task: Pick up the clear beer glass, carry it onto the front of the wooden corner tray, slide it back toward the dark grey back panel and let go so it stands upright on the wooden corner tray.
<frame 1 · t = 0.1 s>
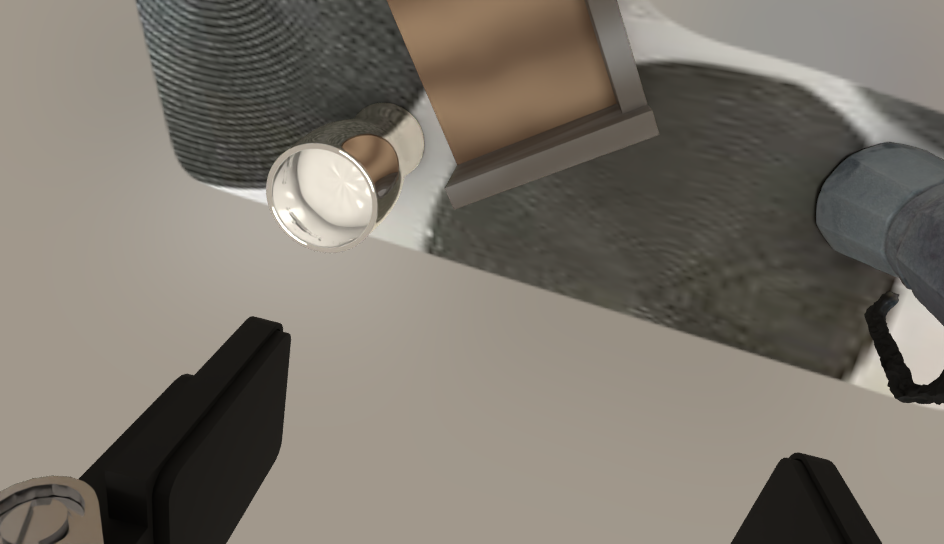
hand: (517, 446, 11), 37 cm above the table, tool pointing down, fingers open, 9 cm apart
wooden corner tray: (514, 42, 43), on the table
beer glass: (387, 140, 47), on the table
moka pot: (873, 204, 45), on the table
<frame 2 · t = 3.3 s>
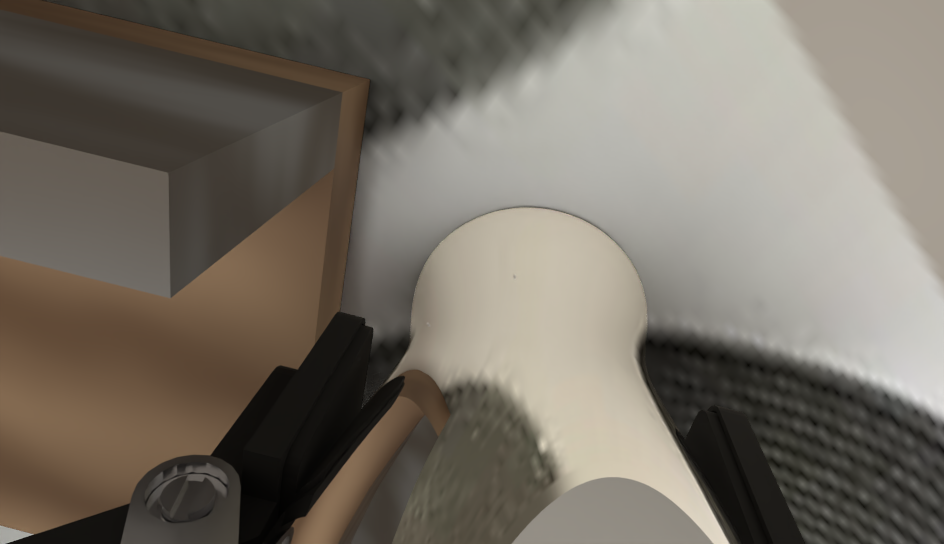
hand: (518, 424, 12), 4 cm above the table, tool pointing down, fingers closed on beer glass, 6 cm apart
wooden corner tray: (101, 302, 17), on the table
beer glass: (527, 310, 16), on the table, touching gripper
when the fingers open (7 cm above the table, at t = 11.5 s): beer glass stays where it is, resting on wooden corner tray.
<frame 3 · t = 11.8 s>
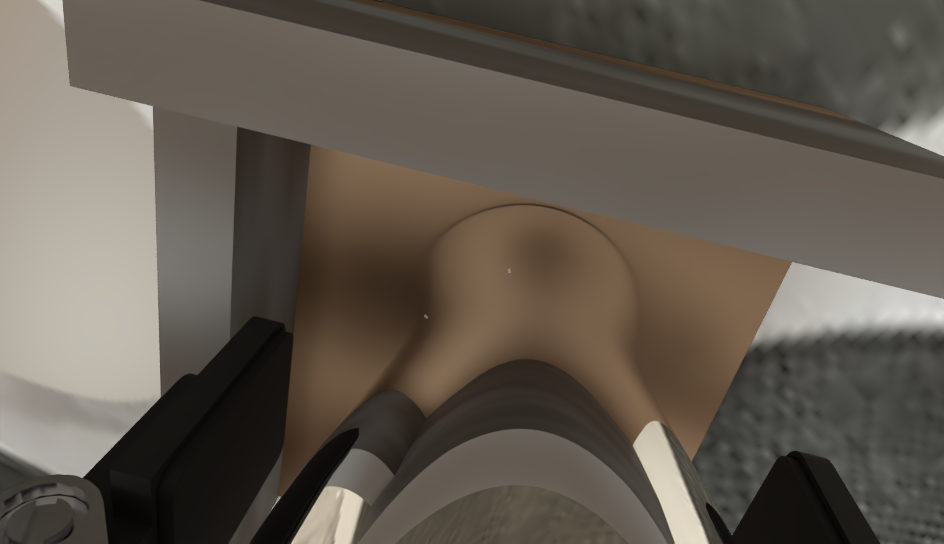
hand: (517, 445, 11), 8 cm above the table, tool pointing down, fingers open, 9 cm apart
wooden corner tray: (487, 308, 19), on the table
beer glass: (523, 305, 16), point 2 cm above the table, touching wooden corner tray
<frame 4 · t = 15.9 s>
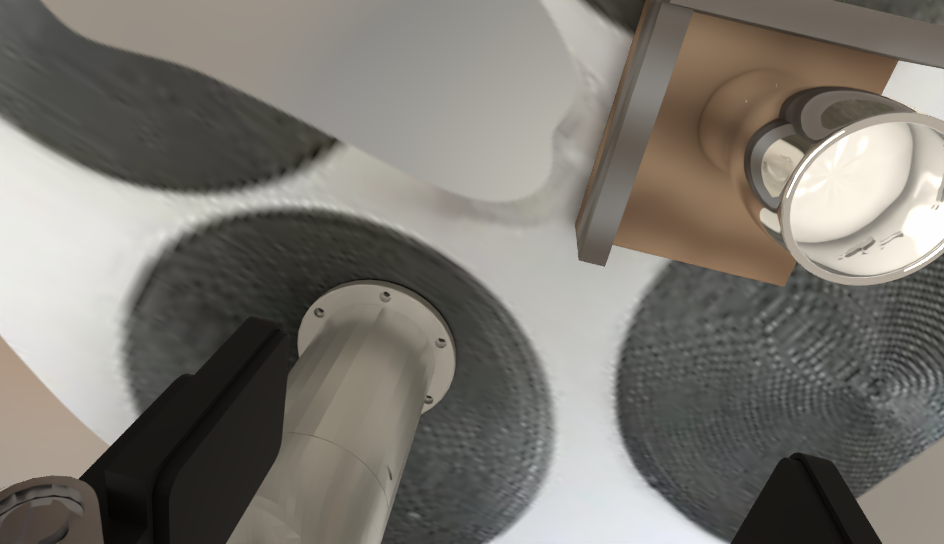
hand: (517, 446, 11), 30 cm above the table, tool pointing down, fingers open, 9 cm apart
wooden corner tray: (719, 136, 37), on the table
beer glass: (751, 123, 35), point 2 cm above the table, touching wooden corner tray
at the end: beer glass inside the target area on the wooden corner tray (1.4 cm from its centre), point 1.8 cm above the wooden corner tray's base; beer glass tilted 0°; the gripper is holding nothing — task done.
